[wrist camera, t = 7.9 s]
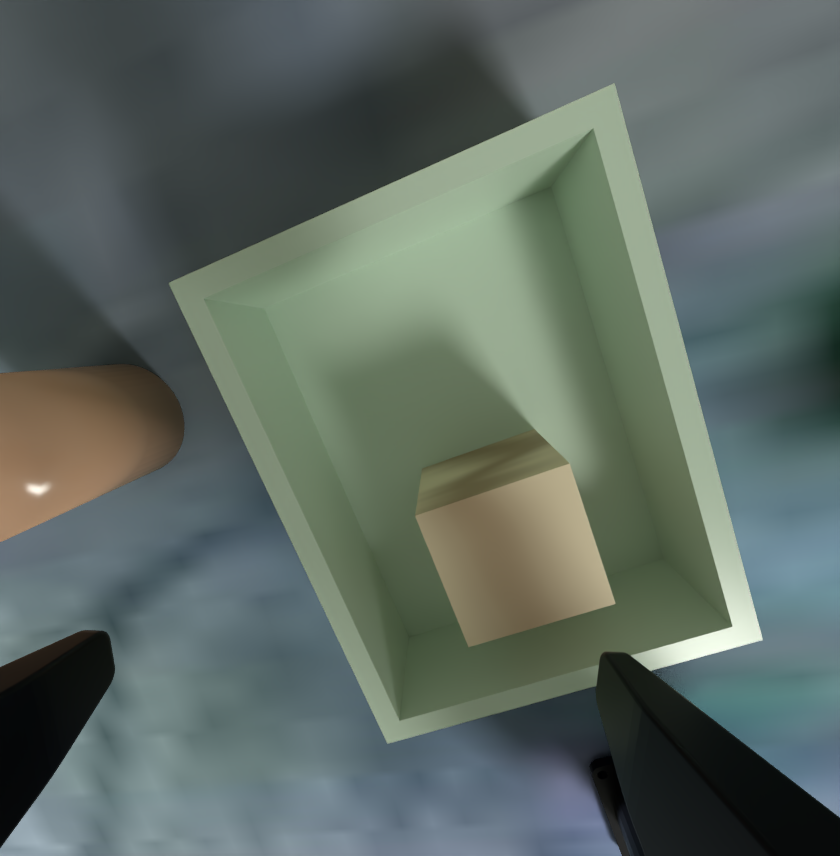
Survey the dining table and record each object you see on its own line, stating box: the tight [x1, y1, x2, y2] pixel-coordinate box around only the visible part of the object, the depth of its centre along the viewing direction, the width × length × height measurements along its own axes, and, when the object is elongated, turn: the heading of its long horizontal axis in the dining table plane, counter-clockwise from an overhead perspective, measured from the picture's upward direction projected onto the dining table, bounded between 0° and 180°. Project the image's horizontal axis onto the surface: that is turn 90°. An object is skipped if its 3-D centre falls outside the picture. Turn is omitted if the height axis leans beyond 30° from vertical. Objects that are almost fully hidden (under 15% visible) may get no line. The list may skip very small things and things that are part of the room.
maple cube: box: [415, 429, 616, 647], centre depth 16 cm, size 5×5×5 cm
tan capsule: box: [0, 364, 184, 542], centre depth 16 cm, size 5×5×7 cm
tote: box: [169, 83, 763, 743], centre depth 16 cm, size 18×14×5 cm
